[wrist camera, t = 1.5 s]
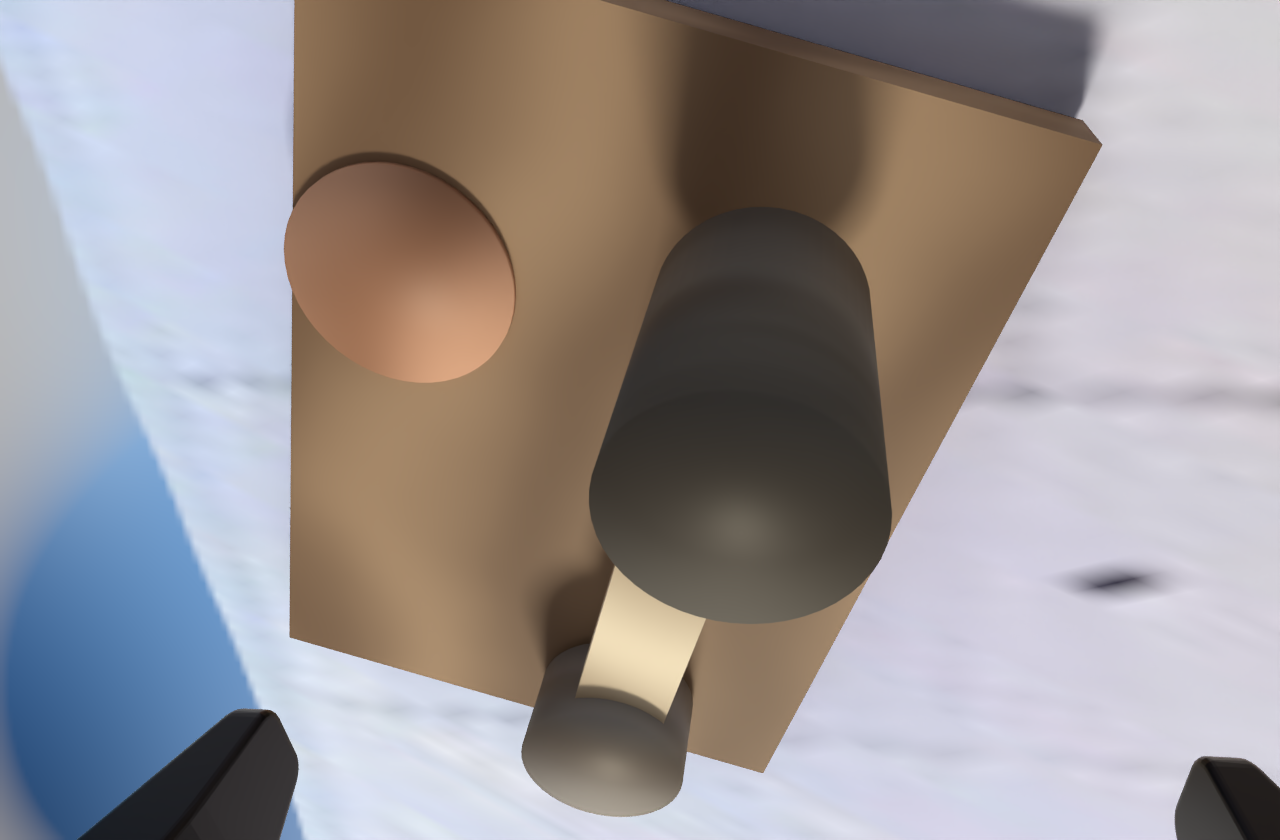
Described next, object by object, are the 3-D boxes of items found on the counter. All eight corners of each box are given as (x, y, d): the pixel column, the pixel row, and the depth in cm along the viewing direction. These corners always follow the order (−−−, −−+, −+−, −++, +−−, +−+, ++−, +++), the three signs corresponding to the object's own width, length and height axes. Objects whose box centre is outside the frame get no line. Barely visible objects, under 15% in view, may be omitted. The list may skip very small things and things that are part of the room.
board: (1082, 120, 18) (1105, 148, 16) (765, 732, 29) (762, 778, 28) (326, -98, 18) (284, -88, 16) (308, 601, 29) (283, 640, 28)
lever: (671, 760, 28) (628, 1041, 22) (532, 719, 28) (448, 989, 22) (908, 210, 17) (960, 447, 11) (684, 145, 17) (607, 345, 11)
